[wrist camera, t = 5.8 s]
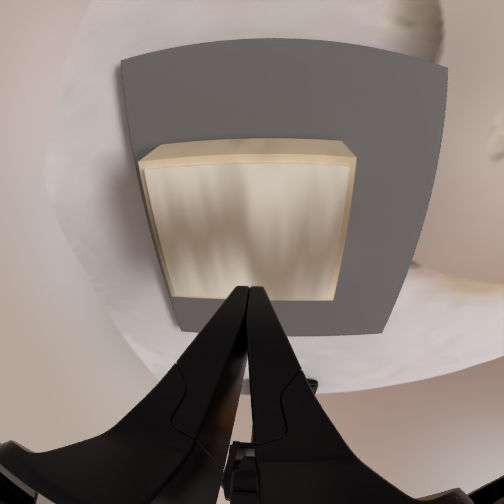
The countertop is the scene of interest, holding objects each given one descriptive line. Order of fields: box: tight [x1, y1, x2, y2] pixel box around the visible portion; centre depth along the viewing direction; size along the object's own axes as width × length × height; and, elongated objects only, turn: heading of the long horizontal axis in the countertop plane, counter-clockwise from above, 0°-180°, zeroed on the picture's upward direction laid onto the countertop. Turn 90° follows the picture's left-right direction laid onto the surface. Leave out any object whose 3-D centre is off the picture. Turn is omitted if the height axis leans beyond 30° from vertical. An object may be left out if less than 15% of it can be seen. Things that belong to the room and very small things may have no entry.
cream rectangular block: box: [138, 138, 357, 301], centre depth 12 cm, size 7×3×8 cm
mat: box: [121, 38, 448, 336], centre depth 14 cm, size 18×15×1 cm
